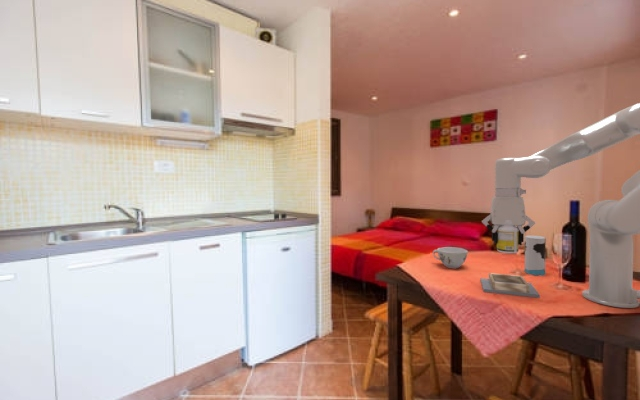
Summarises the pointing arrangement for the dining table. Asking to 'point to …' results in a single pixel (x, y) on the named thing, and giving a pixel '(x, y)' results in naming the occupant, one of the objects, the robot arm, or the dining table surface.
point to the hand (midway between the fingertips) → (507, 243)
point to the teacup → (451, 256)
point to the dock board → (488, 288)
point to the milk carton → (535, 255)
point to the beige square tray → (508, 286)
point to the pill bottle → (507, 238)
